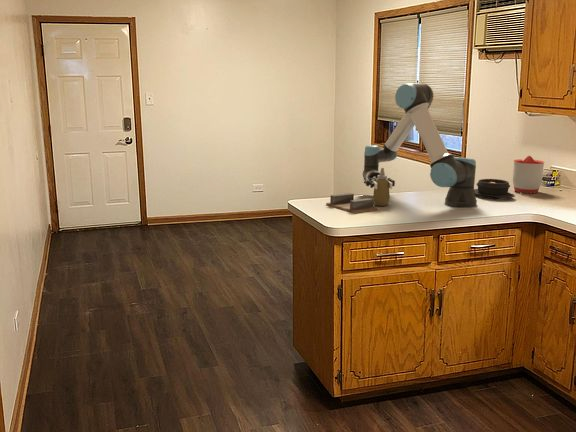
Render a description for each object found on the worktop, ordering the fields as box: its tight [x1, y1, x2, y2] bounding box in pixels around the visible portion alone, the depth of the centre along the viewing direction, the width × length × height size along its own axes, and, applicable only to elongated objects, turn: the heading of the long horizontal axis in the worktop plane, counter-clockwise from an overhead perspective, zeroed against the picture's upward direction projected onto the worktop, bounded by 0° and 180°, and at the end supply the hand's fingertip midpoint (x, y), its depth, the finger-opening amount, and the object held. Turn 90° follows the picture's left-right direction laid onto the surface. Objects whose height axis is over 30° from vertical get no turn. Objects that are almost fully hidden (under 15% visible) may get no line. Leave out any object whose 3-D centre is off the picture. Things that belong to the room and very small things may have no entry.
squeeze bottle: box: [372, 167, 390, 207], centre depth 303 cm, size 8×8×18 cm
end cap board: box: [325, 192, 379, 214], centre depth 300 cm, size 22×14×5 cm, turn 33°
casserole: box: [474, 178, 516, 200], centre depth 329 cm, size 25×19×8 cm
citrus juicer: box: [512, 155, 545, 194], centre depth 343 cm, size 16×17×20 cm
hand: (384, 186), depth 298 cm, fingers closed on squeeze bottle, 6 cm apart
